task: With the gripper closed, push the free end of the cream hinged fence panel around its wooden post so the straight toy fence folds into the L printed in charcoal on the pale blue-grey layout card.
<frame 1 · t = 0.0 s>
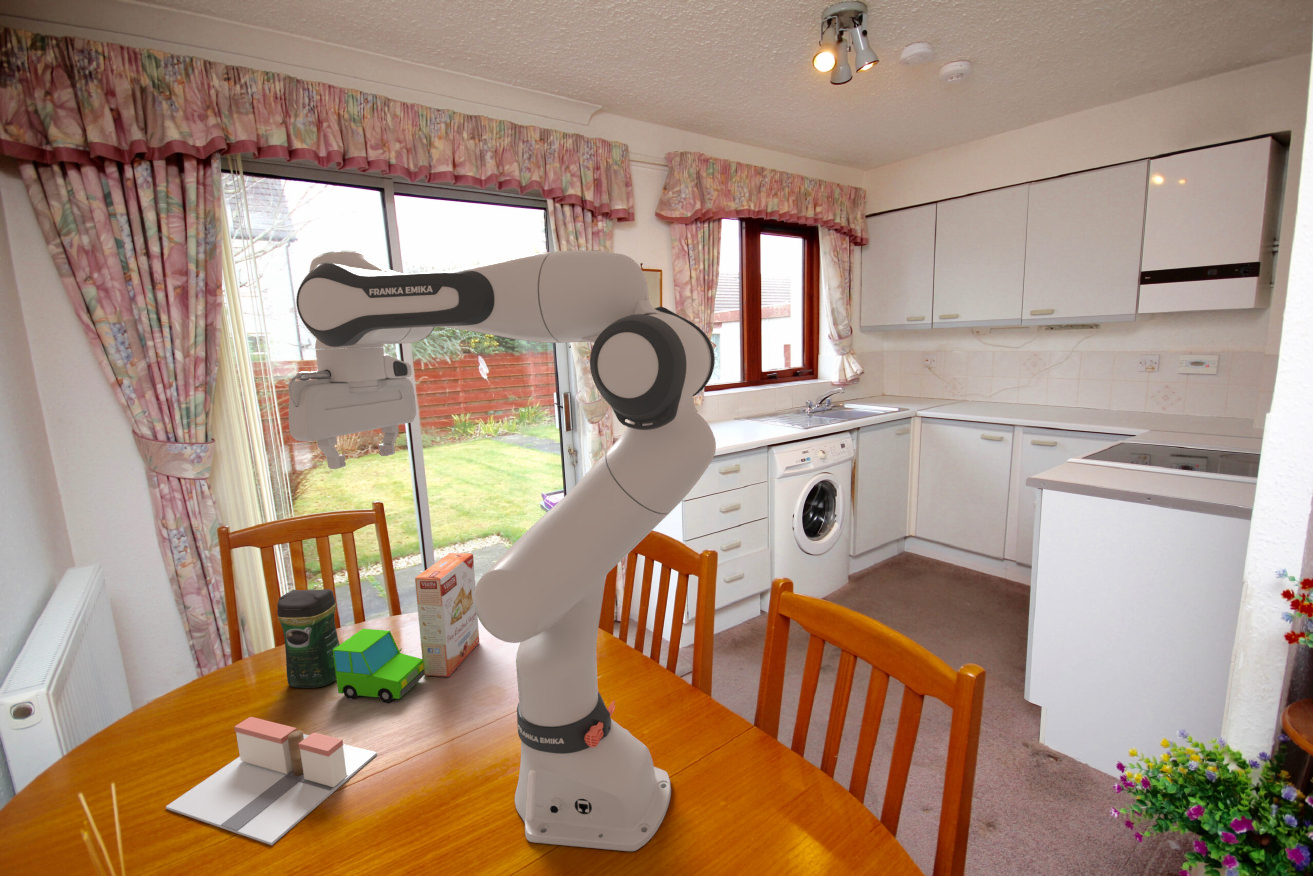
hand: (363, 461, 87), 48 cm above the table, tool pointing down, fingers open, 8 cm apart
toy car: (384, 690, 112), on the table
cracker box: (454, 659, 122), on the table
coffee jar: (317, 679, 117), on the table
fixed fence panel: (326, 781, 88), resting on layout card
hinge post: (301, 774, 90), resting on layout card
folding fence panel: (267, 744, 92), point 4 cm above the table, hinge at 0.0°
layout card: (277, 780, 89), on the table
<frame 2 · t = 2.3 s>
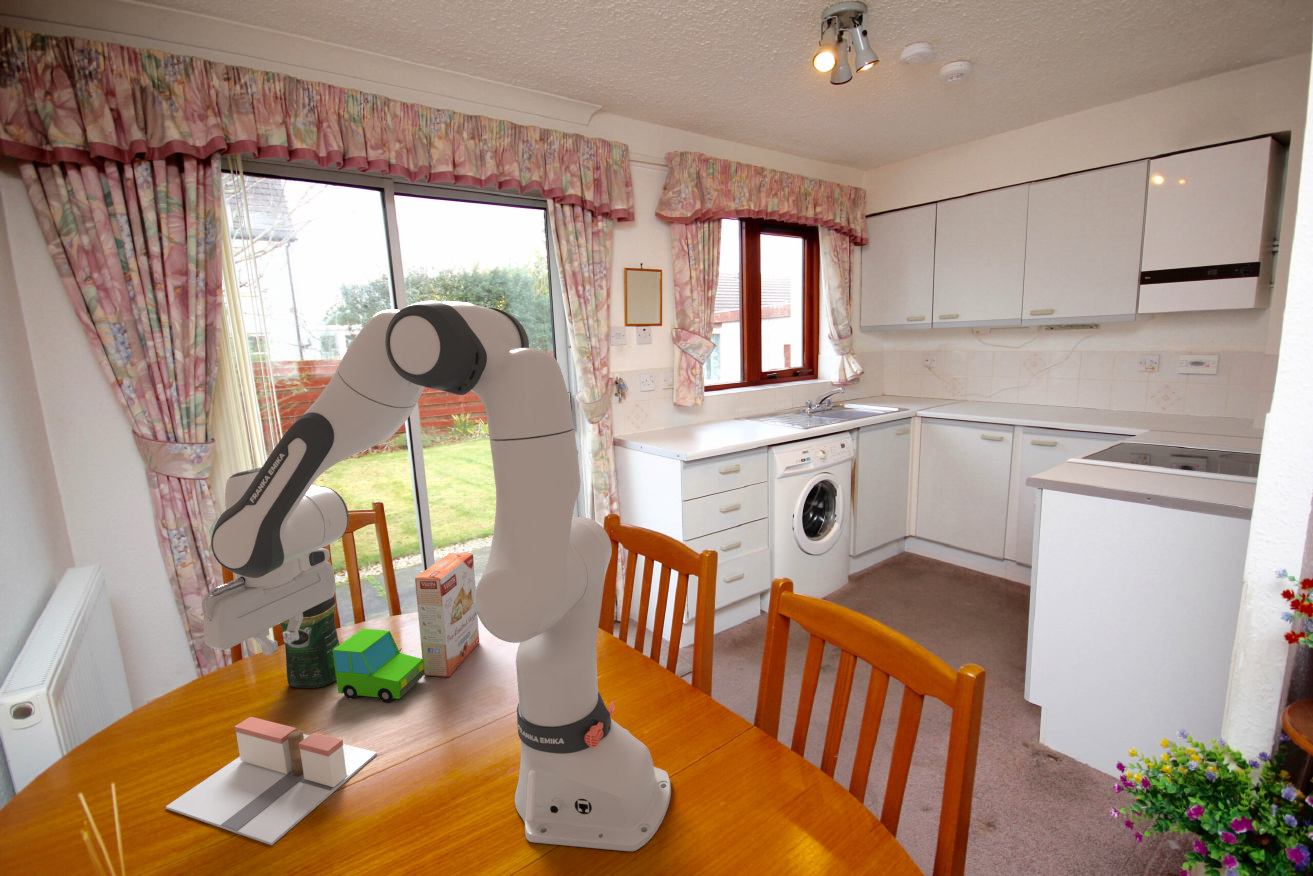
hand: (281, 647, 95), 17 cm above the table, tool pointing down, fingers closed
nothing on the table moved.
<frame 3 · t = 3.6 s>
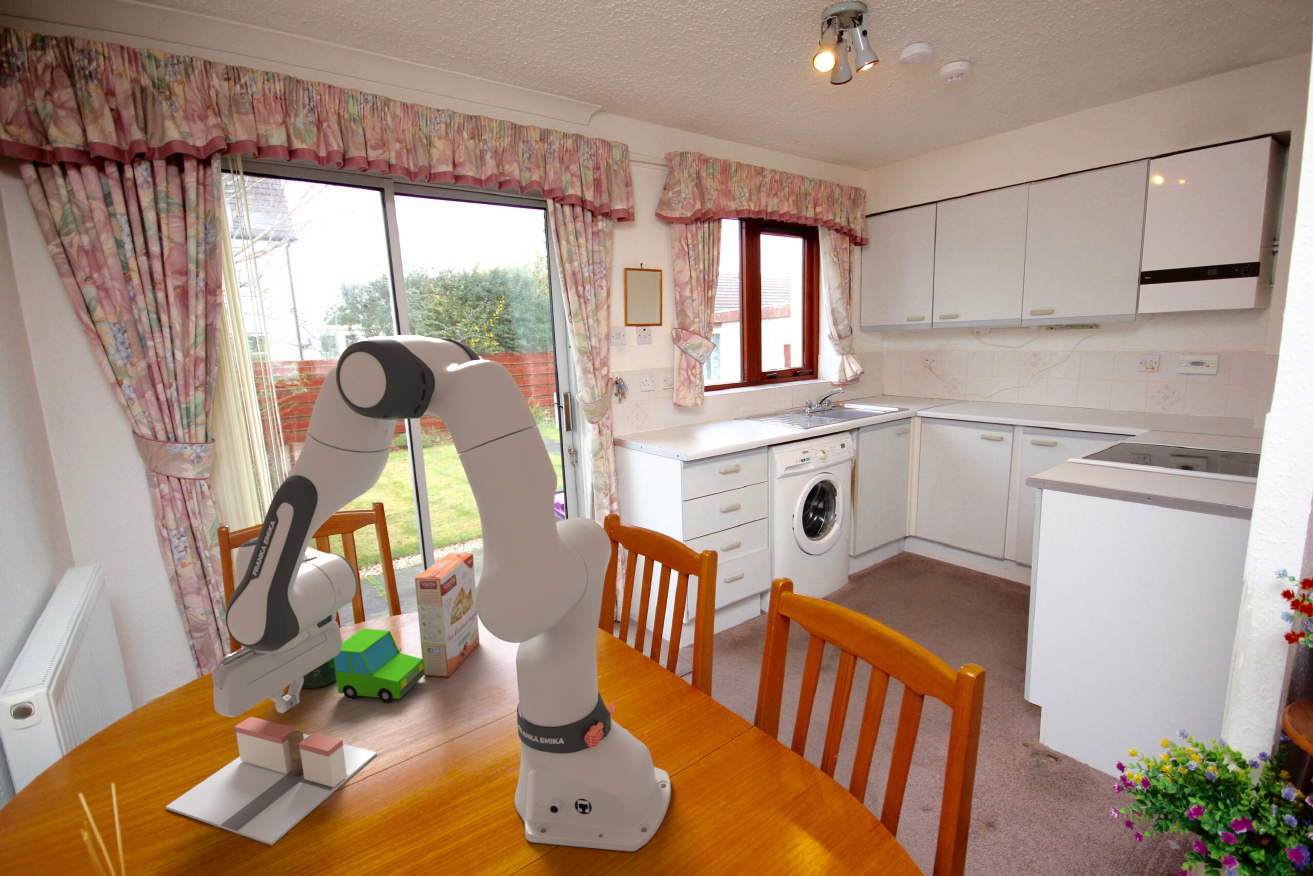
hand: (288, 707, 97), 6 cm above the table, tool pointing down, fingers closed
nothing on the table moved.
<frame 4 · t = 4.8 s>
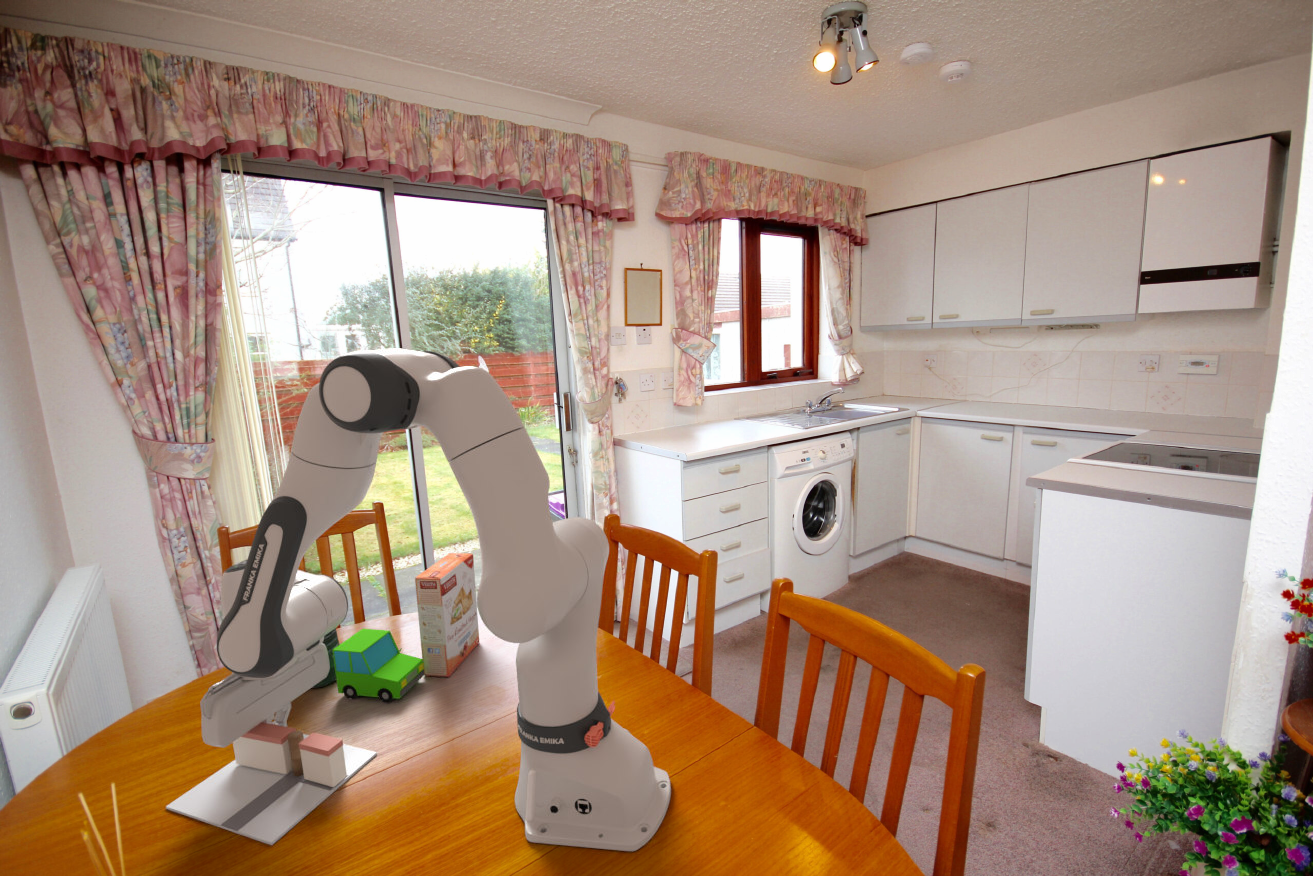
hand: (277, 733, 95), 3 cm above the table, tool pointing down, fingers closed
folding fence panel: (265, 746, 91), point 4 cm above the table, hinge at 3.9°, touching gripper
everything else where it was.
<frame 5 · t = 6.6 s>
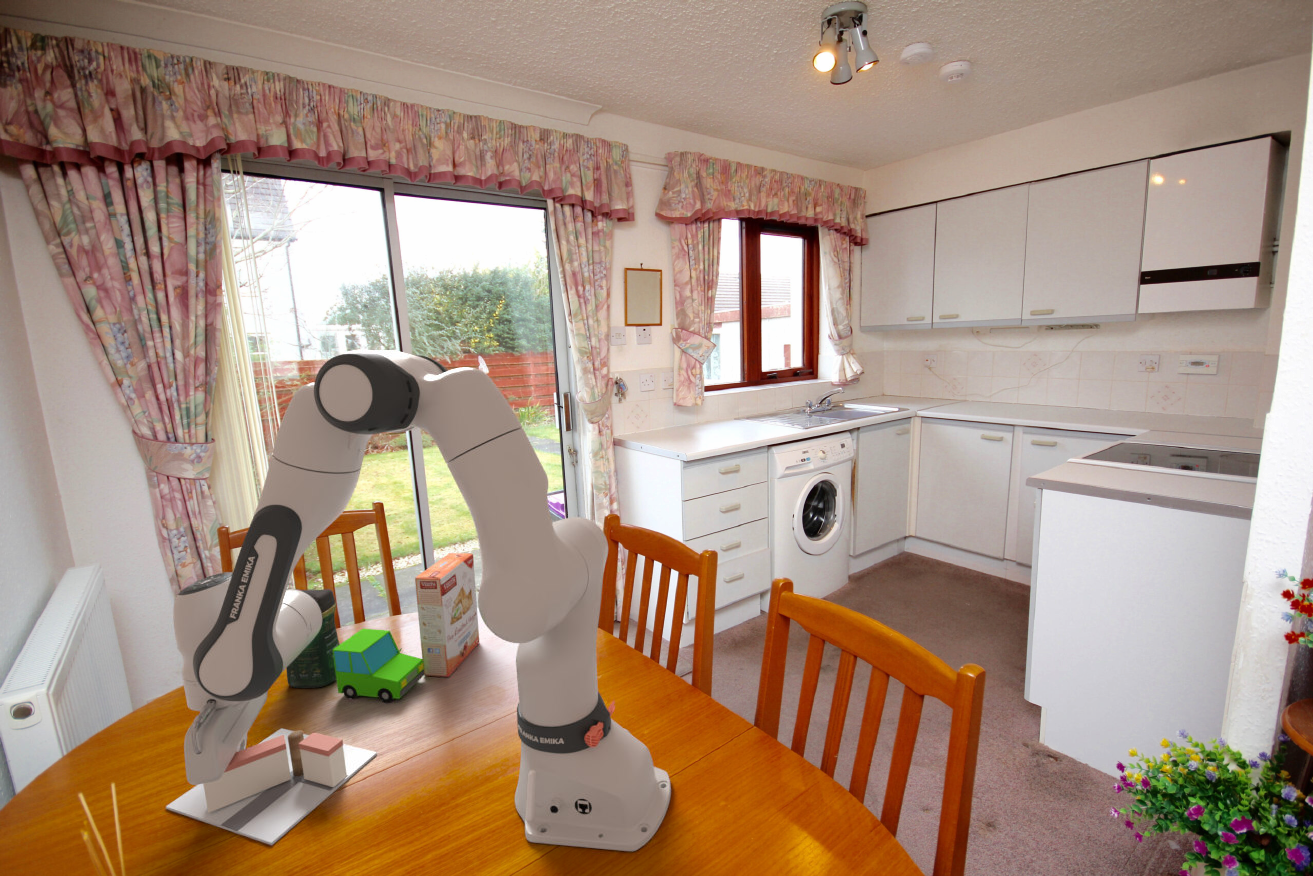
hand: (237, 766, 88), 3 cm above the table, tool pointing down, fingers closed
folding fence panel: (247, 772, 86), point 4 cm above the table, hinge at 57.1°, touching gripper
everything else where it was.
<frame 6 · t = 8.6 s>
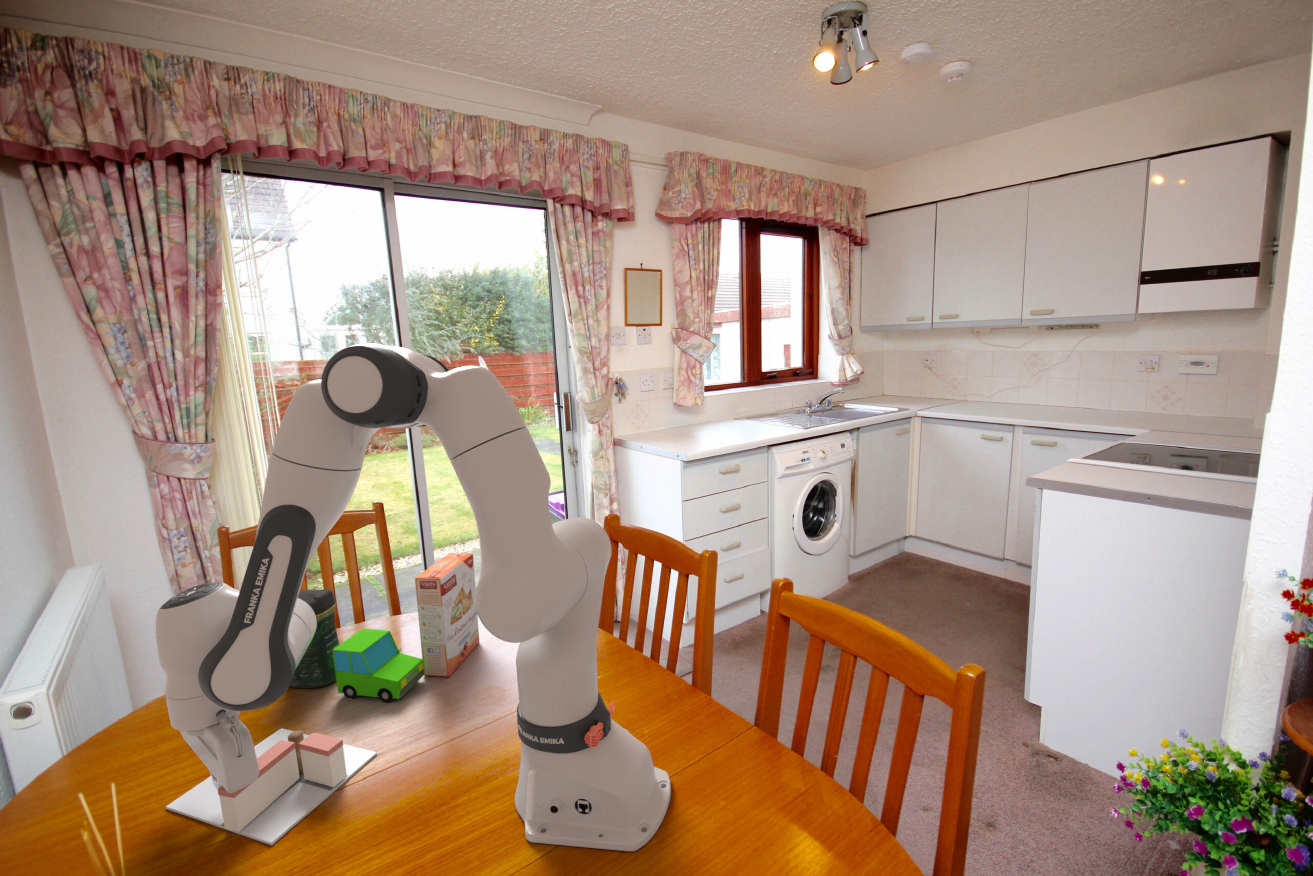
hand: (224, 788, 83), 3 cm above the table, tool pointing down, fingers closed
folding fence panel: (261, 783, 83), point 4 cm above the table, hinge at 95.7°
everything else where it was.
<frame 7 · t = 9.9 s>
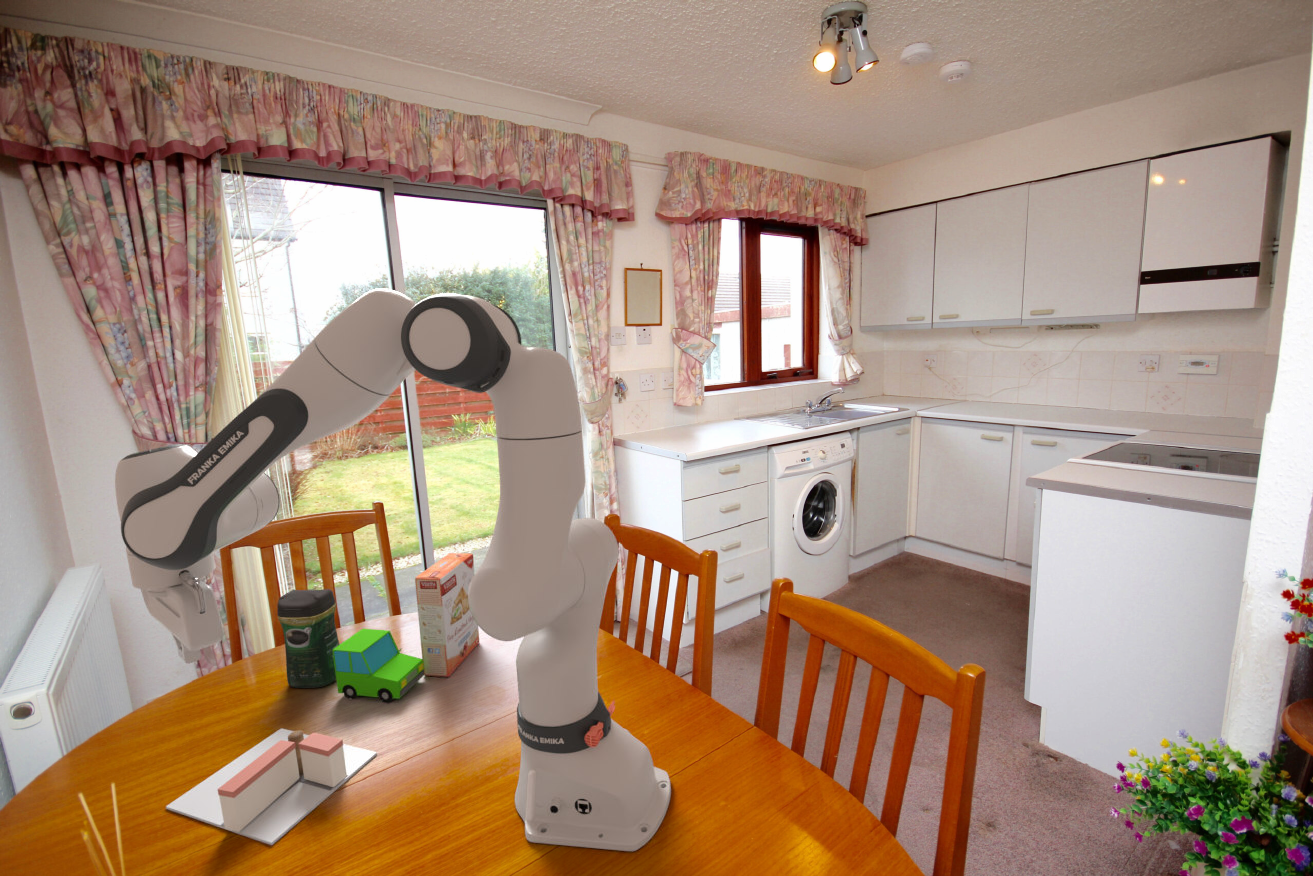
hand: (190, 659, 81), 23 cm above the table, tool pointing down, fingers closed
nothing on the table moved.
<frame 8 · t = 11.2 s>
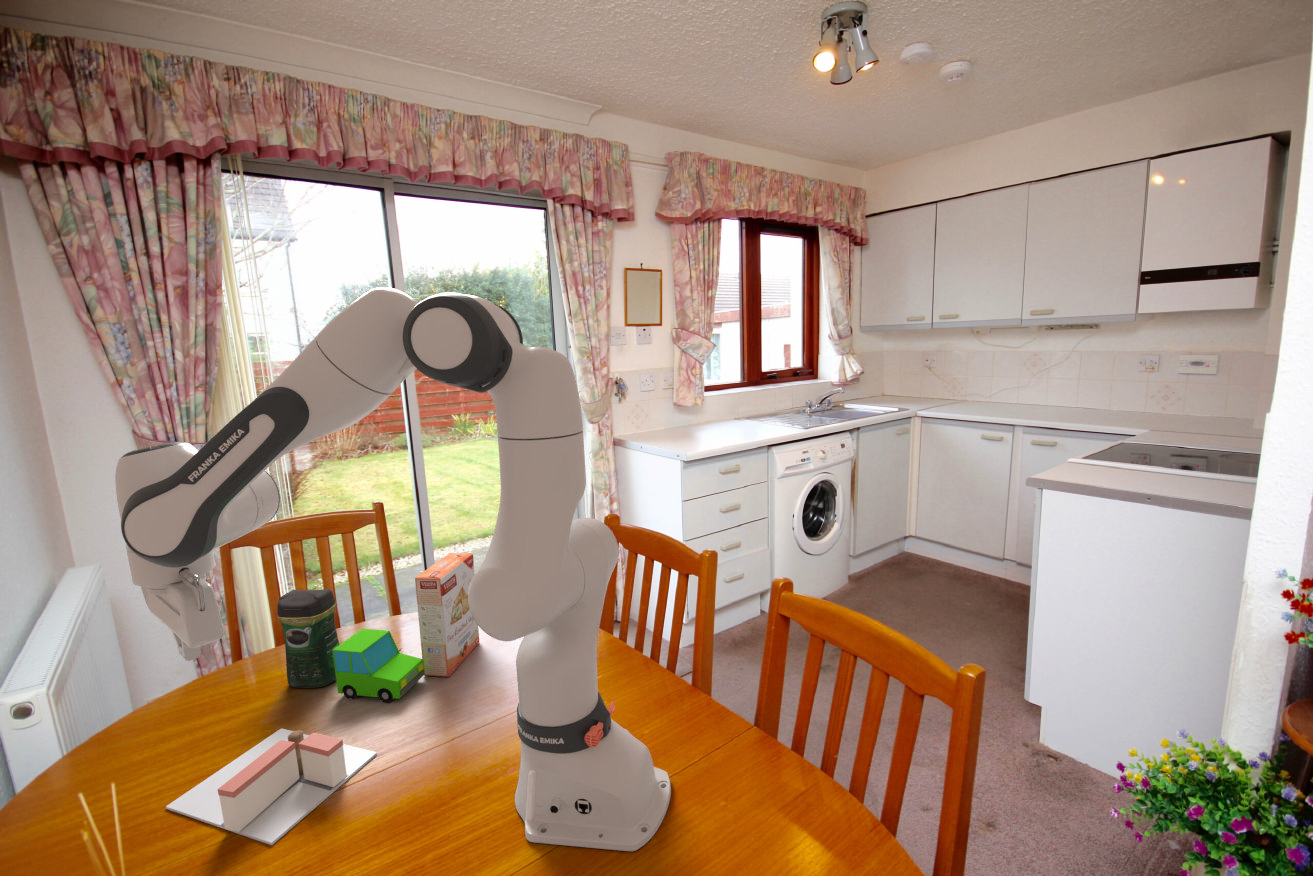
hand: (190, 656, 81), 23 cm above the table, tool pointing down, fingers closed
nothing on the table moved.
at the end: folding fence panel at +96° (first picture: +0°); folding fence panel touching nothing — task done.
